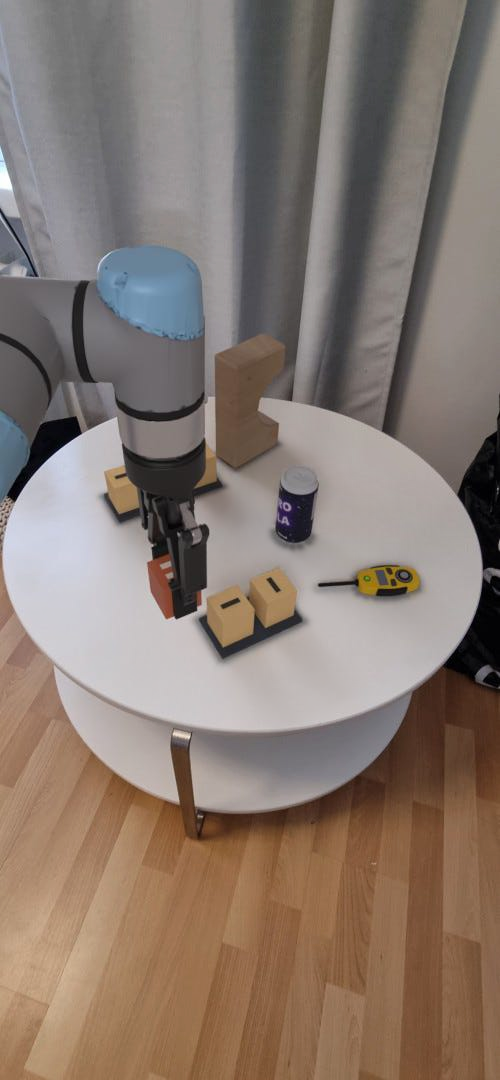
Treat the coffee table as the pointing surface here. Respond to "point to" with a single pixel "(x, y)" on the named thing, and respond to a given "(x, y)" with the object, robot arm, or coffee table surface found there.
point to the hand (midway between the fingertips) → (175, 596)
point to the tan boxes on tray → (250, 613)
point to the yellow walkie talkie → (383, 581)
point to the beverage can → (296, 503)
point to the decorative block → (245, 398)
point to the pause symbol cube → (163, 584)
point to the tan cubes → (125, 493)
